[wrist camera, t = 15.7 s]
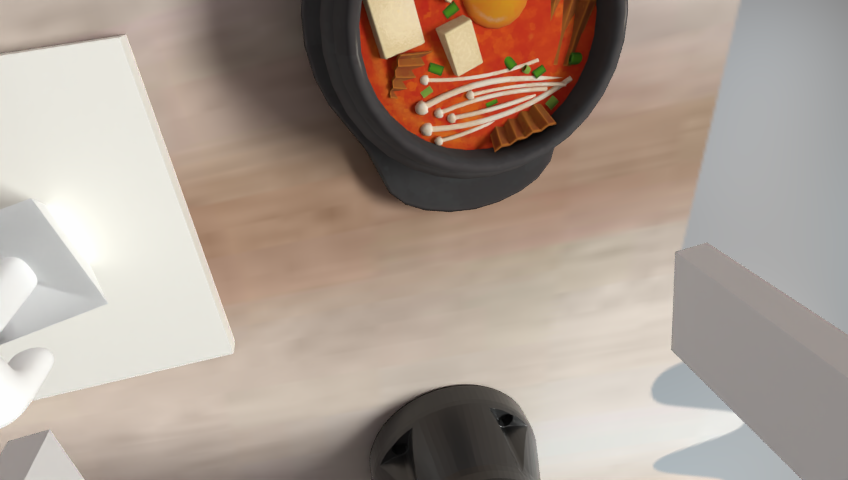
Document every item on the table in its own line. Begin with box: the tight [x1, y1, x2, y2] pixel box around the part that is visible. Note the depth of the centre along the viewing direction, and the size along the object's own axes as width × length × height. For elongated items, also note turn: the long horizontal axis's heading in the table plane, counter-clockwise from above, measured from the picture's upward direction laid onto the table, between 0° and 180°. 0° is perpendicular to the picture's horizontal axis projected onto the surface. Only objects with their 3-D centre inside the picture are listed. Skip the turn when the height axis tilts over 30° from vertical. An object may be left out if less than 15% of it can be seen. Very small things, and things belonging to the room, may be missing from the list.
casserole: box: [301, 0, 628, 212], centre depth 32 cm, size 25×19×8 cm
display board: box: [0, 35, 235, 401], centre depth 35 cm, size 22×18×2 cm
